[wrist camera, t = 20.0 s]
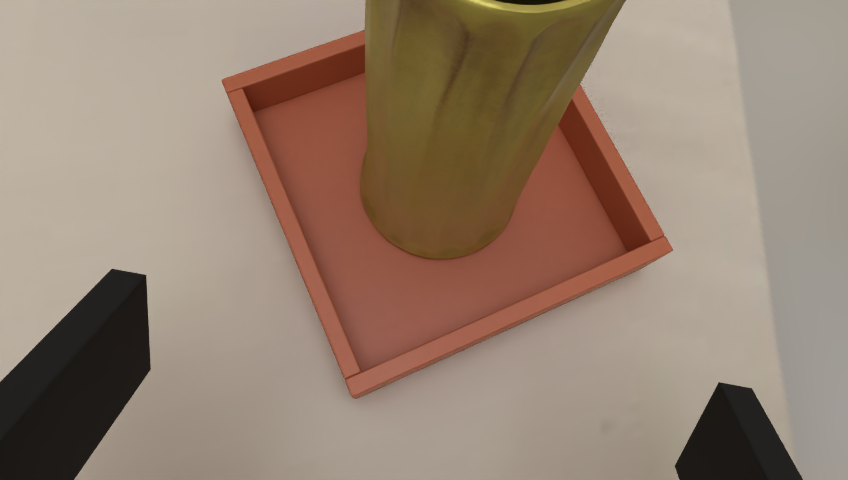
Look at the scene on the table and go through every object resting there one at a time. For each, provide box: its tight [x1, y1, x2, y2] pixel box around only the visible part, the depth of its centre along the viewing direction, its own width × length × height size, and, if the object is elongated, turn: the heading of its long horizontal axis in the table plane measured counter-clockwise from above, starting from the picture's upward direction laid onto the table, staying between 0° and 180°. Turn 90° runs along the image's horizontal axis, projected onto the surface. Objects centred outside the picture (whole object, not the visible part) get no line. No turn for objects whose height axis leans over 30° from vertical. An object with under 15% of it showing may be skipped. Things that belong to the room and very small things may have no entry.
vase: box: [360, 0, 626, 259], centre depth 17 cm, size 6×6×14 cm
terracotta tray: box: [222, 30, 673, 399], centre depth 24 cm, size 12×12×3 cm
